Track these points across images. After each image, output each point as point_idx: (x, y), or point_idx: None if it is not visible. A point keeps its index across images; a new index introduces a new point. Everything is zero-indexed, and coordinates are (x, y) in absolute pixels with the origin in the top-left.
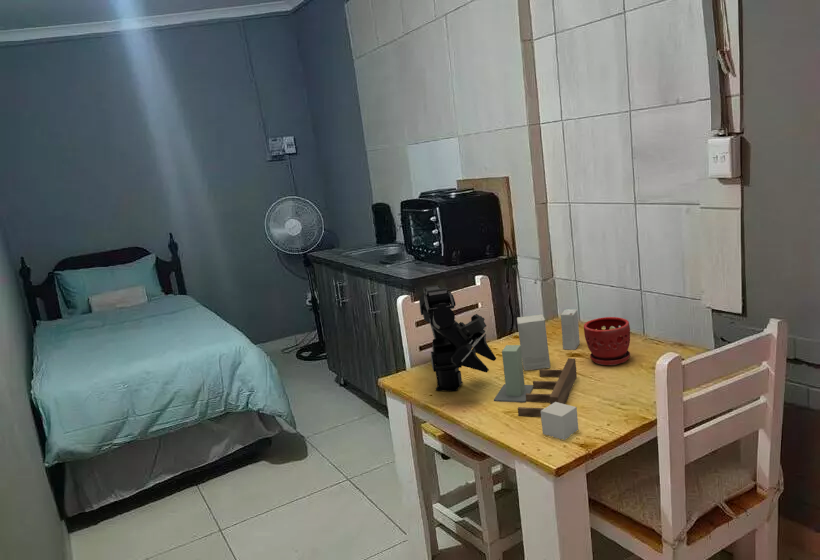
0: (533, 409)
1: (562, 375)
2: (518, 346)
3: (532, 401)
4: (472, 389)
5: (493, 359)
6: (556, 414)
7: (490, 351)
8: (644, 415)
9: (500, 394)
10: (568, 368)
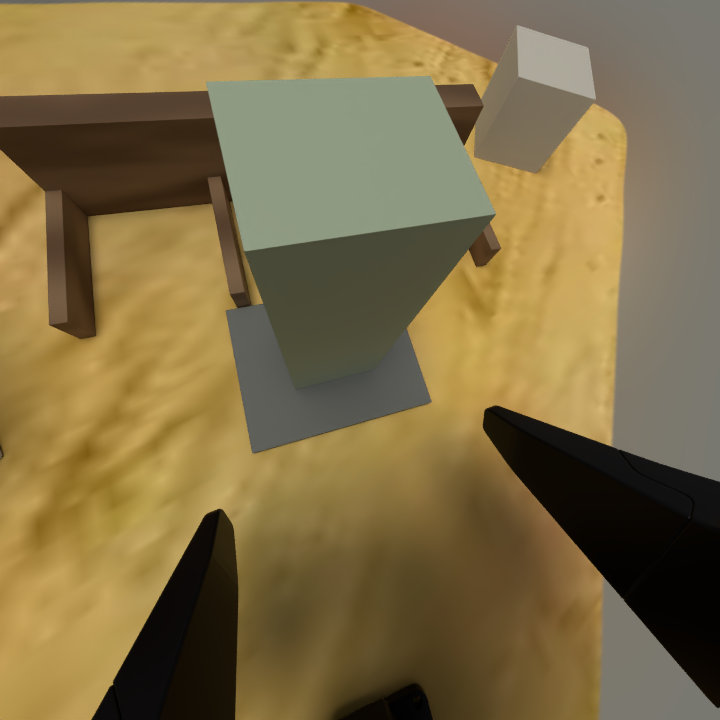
0: None
1: None
2: (265, 90)
3: None
4: (355, 597)
5: (227, 533)
6: (586, 60)
7: (188, 610)
8: (338, 9)
9: (372, 402)
10: (160, 100)
